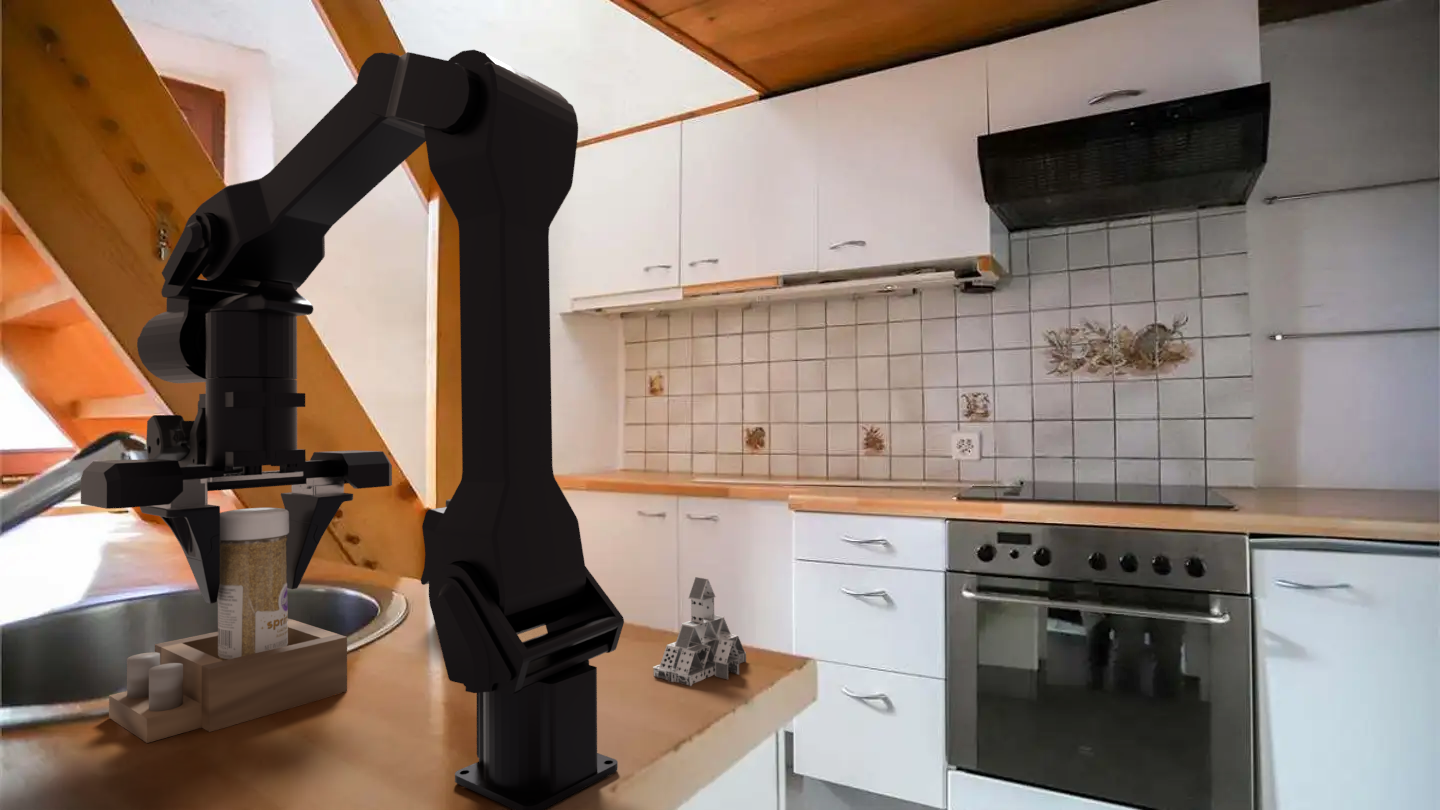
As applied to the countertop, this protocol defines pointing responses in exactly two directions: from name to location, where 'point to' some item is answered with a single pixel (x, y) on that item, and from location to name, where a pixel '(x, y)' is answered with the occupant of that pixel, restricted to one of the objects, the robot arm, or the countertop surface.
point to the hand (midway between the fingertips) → (252, 595)
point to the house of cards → (701, 643)
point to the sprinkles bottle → (252, 581)
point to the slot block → (226, 682)
